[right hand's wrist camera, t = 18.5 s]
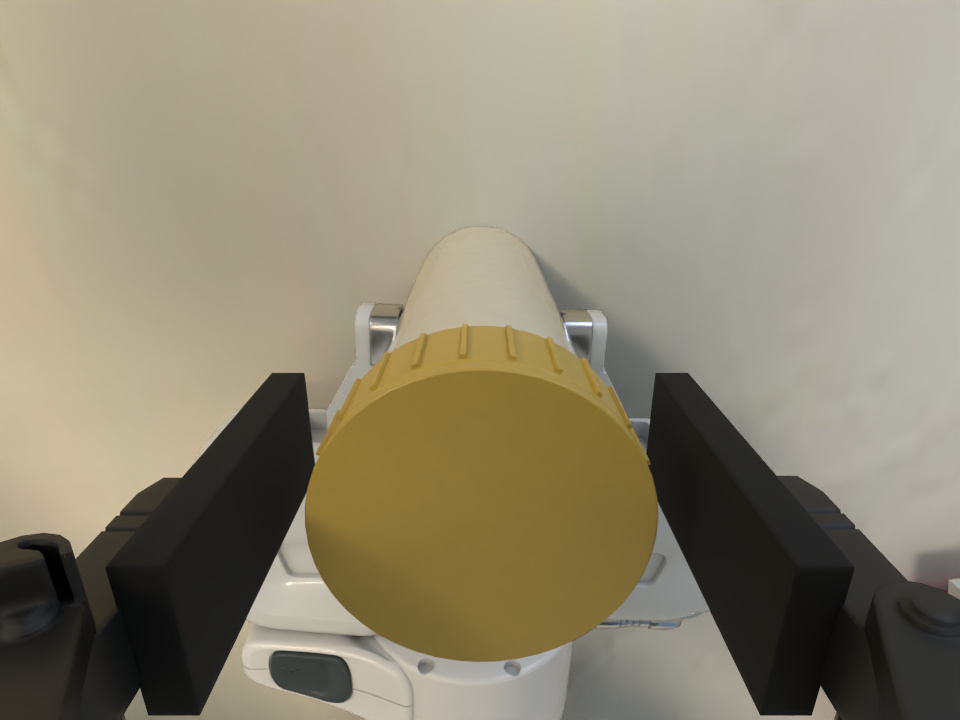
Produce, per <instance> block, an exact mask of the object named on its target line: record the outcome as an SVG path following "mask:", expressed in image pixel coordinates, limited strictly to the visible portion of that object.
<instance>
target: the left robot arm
mask: <svg viewBox="0 0 960 720" xmlns="http://www.w3.org/2000/svg"><path fill="white" fill-rule="evenodd" d="M403 309H404V306H403V305H396V304H376V303H362V304H361V305H360V306H359V308H358V309H357V311H356V315H355V323H354V332H355V353H356V359H355V361H354V362H353V364H352V366H351V368H350V369H349V371H348V373H347V375H346V376H345V378H344V380H343V382H342V383H341V385H340V387H339V389H338V390H337V392H336V394H335V396H334V398H333V399H332V401H331V403H330V405H329V407H328V408H327V409H309V417H310V425H311V434H312V442H313V451H314V459H315V464H316V462H317V460H318V458H319V456H318V455H316V452H317V450H318V448H319V446H320V444H321V442H322V440H323V438H324V436H325V434H326V432H327V430H328V428H329V426H330V424H331V422H332V420H333V418H334V416H335V414H336V412H337V410H341V408H342V406H343V404H344V402H345V400H346V398H347V396H348V394H349V392H350V390H351V388H352V386H353V384H354V382H355V380H356V379H357V378H359V379H360V380H361V379H362V378H363V377H364V376H365V374H366V373H367V372H368V371H369V370H370V369H371V368H372V367H373V366H374V365H375V364H377V363H378V362H379V361H380V360H381V358H382V356H383V354H384V353H385V351H386V348H387V346H388V344H389V342H390V339H391V337H392V335H393V332H394V330H395V328H396V325H397V323H398V321H399V318H400V316H401V314H402V311H403ZM559 312H560V315H561V317H562V319H563V321H564V324H565V326H566V328H567V330H568V333H569V335H570V337H571V340H572V342H573V344H574V346H575V349H576V351H577V353H578V355H579V358H580V359H582V358H583V357H584V358H585V359H587V361H588V363H589V365H590V367H591V369H592V370H593V371H595V372H596V373H597V375H598V376H599V377H600V378H601V380H602V381H603V382H604V383H605V385H606V386H607V387H609V386H612V388H613V389H614V387H613V385H612V383H611V381H610V379H609V376H608V374H607V372H606V370H605V369H604V360H605V351H606V342H607V334H608V328H607V320H606V318H605V316H604V315H603V313H602V312H601V310H570V309H560V310H559ZM614 391H615V389H614ZM615 393H616V391H615ZM616 395H617V393H616ZM617 397H618V395H617ZM618 399H619V397H618ZM619 401H620V399H619ZM620 403H621V401H620ZM621 404H622V403H621ZM622 406H623V405H622ZM623 408H624V407H623ZM241 409H242V408H240V409H238V410H237V411H235V412H234V413H233V414H232V415H231V416H230V417H229V418H228V419H227V420H226V421H225V422H224V423H223V424H222V425H221V426H220V427H218V428H217V429H216V430H215V432H214V433H213V434H212V435H211V436H210V437H209V439H208V440H207V441H206V443H205V444H204V445H203V447H202V448H201V449H200V451H199V452H198V454H197V456H196V458H195V460H194V462H193V464H194V463H195V462H196V461H197V460H198V459H199V457H200V456H201V455H202V454H203V453H204V452H205V450H206V449H207V448H208V447H209V446H210V445H211V443H212V442H213V441H214V440H215V439H216V438H217V436H218V435H219V434H220V433H221V432H222V431H223V429H224V428H225V427H226V426H227V425H228V424H229V423H230V421H231V420H232V419H233V418H234V417H235V416H236V414H237V413H238V412H239V411H240V410H241ZM624 410H625V409H624ZM625 412H626V411H625ZM626 414H627V413H626ZM629 420H630V422H631V424H632V426H633V429H634V431H635V433H636V435H637V437H638V439H639V441H640V443H641V445H642V447H643V449H644V450H645V452H646V451H647V442H648V434H649V425H650V419H647V418H629ZM192 466H193V465H192ZM306 495H307V493H306ZM306 495H305V497H304V499H303V501H302V503H301V505H300V507H299V510H298V512H297V514H296V516H295V518H294V520H293V522H292V524H291V526H290V528H289V530H288V532H287V535H286V537H285V539H284V541H283V543H282V545H281V547H280V549H279V551H278V553H277V555H276V557H275V560H274V562H273V564H272V566H271V568H270V570H269V572H268V574H267V576H266V578H265V580H264V582H263V585H262V587H261V589H260V591H259V593H258V595H257V597H256V599H255V601H254V603H253V605H252V607H251V610H250V612H249V614H248V616H247V618H246V620H247V621H249V622H250V624H249V628H248V631H247V634H246V638H245V641H244V644H243V648H242V657H241V659H242V666H243V669H244V672H245V674H246V675H247V677H248V678H249V679H251V680H252V681H253V682H255V683H257V684H260V685H262V686H265V687H269V688H272V689H276V690H280V691H284V692H288V693H292V694H296V695H299V696H303V697H306V698H310V699H313V700H316V701H320V702H323V703H326V704H329V705H332V706H334V707H337V708H340V709H343V710H345V711H348V712H350V713H352V714H355V715H357V716H359V717H361V718H364V719H366V720H561V718H562V714H563V710H564V707H565V703H566V695H567V687H568V679H569V670H570V662H571V653H572V646H573V641H571V642H569V643H567V644H565V645H562V646H560V647H558V648H556V649H553V650H550V651H547V652H544V653H541V654H538V655H533V656H529V657H524V658H520V659H514V660H505V661H497V662H469V661H455V660H449V659H444V658H438V657H433V656H430V655H426V654H422V653H419V652H415V651H413V650H410V649H408V648H405V647H403V646H400V645H397V644H395V643H393V642H391V641H389V640H388V639H386V638H384V637H382V636H380V635H378V634H377V633H375V632H374V631H372V630H371V629H369V628H368V627H366V626H365V625H363V624H362V623H361V622H359V621H358V620H357V619H356V618H355V617H354V616H352V615H351V614H350V613H349V612H348V611H347V610H346V609H345V608H344V607H343V606H342V605H341V604H340V603H339V601H338V600H337V599H336V598H335V597H334V596H333V594H332V593H331V591H330V590H329V589H328V587H327V586H326V584H325V583H324V581H323V580H322V578H321V576H320V574H319V572H318V570H317V568H316V566H315V564H314V561H313V558H312V555H311V552H310V549H309V546H308V540H307V534H306V529H305V502H306ZM657 502H658V501H657ZM707 611H710V610H709V607H708V605H707V603H706V601H705V599H704V597H703V595H702V593H701V591H700V589H699V587H698V585H697V582H696V580H695V578H694V576H693V574H692V572H691V570H690V568H689V566H688V564H687V562H686V560H685V557H684V555H683V553H682V551H681V549H680V547H679V545H678V543H677V541H676V539H675V537H674V535H673V532H672V530H671V528H670V526H669V524H668V522H667V520H666V518H665V516H664V514H663V512H662V510H661V507H660V505H659V503H658V526H657V536H656V540H655V544H654V548H653V552H652V555H651V558H650V560H649V562H648V565H647V567H646V570H645V572H644V574H643V575H642V577H641V579H640V580H639V582H638V584H637V585H636V587H635V589H634V590H633V591H632V593H631V594H630V595H629V596H628V598H627V599H626V600H625V601H624V603H623V604H622V605H621V606H620V607H619V608H618V609H617V610H616V611H615V612H614V613H612V614H611V615H610V616H609V617H608V618H607V619H606V620H604V621H603V622H602V623H600V624H599V625H598V626H596V627H595V628H618V627H619V628H622V627H630V626H638V627H648V628H649V629H656V630H665V629H673V628H677V627H679V626H680V624H681V620H684V619H690V618H692V617H695V616H698V615H699V614H701V613H703V612H707Z"/></svg>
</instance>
